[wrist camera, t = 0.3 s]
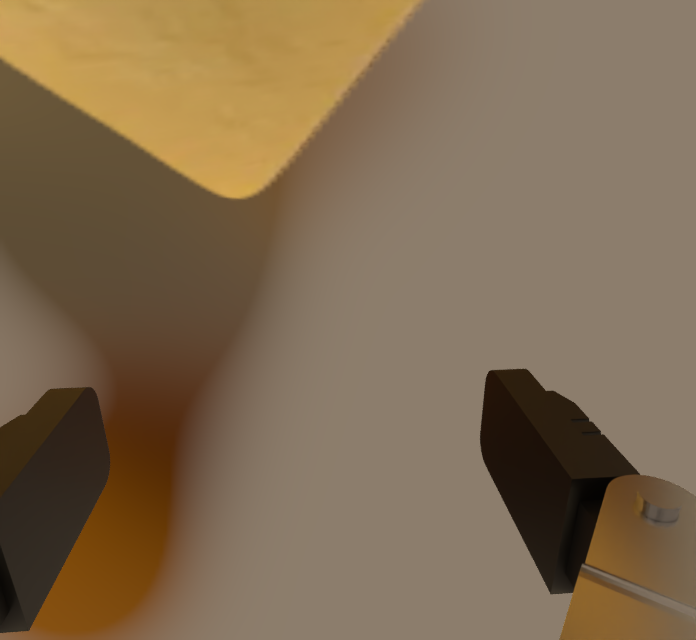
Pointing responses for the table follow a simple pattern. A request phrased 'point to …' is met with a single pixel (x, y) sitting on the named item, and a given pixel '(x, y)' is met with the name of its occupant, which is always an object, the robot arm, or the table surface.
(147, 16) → the table surface
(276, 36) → the table surface
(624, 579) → the robot arm
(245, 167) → the table surface
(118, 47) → the table surface
